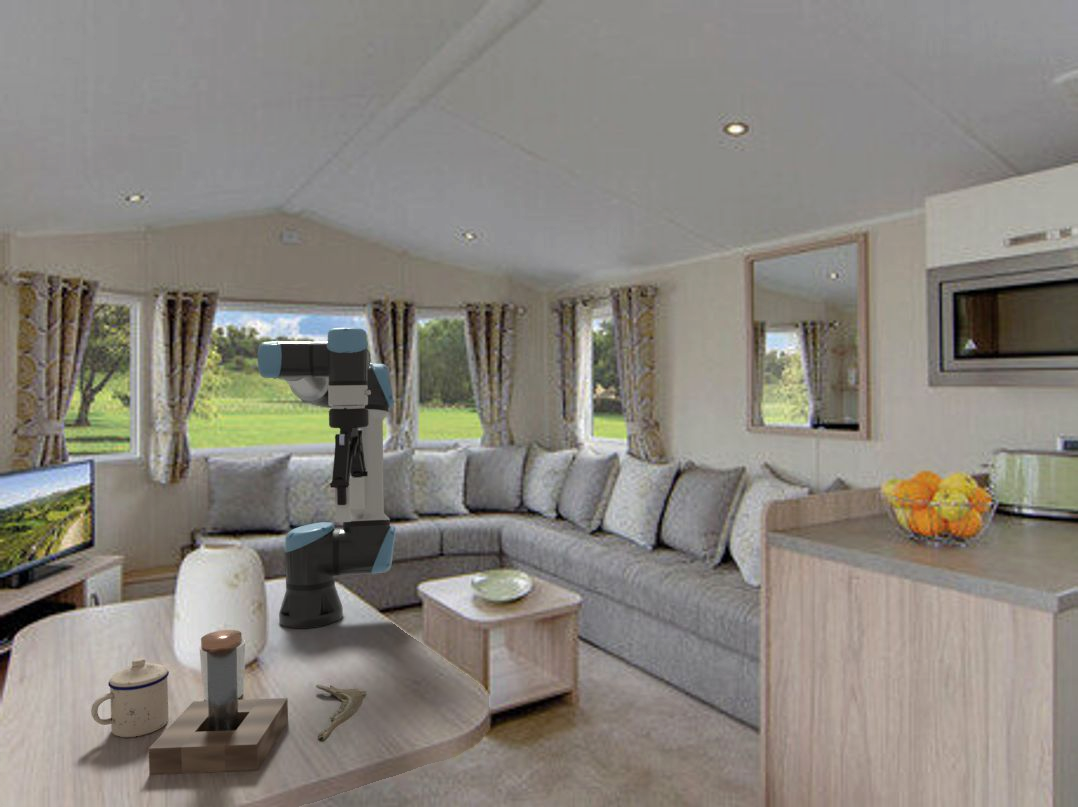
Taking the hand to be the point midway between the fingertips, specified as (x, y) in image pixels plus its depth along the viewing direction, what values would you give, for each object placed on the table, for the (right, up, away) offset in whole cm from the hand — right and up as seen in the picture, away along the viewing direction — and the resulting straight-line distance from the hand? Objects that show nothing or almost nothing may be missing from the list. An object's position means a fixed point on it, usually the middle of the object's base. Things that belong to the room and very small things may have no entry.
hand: (350, 515), depth 142 cm
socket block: (-14, -34, -25) cm, 44 cm away
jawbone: (-1, -34, -13) cm, 37 cm away
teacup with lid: (-33, -34, -19) cm, 51 cm away
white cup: (-22, -33, -6) cm, 41 cm away
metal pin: (-14, -34, -25) cm, 44 cm away
